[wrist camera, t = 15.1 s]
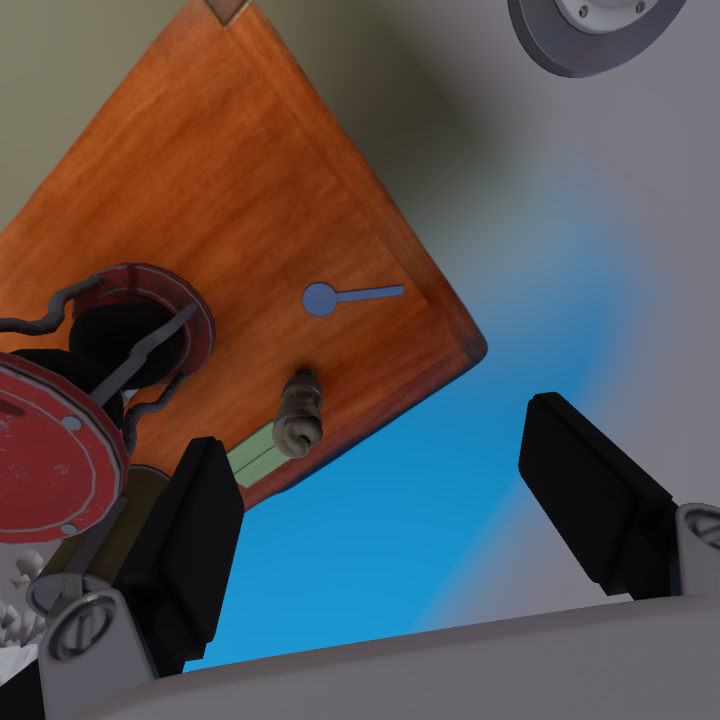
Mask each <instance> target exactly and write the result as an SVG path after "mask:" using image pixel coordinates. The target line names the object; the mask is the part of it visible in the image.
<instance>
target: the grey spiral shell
mask: <svg viewBox="0 0 720 720" xmlns="http://www.w3.org/2000/svg"><path fill="white" fill-rule="evenodd" d="M322 402H323V396H322V388H321V385H320V384H319V382H318V381H317V380H316V379H315V375H314V374H313V372H312V371H310V370H304V371H303V370H300V371H298V372H297V373H296V374H295V376H294V377H292V378H291V379H290V380H289V381H288V382H287V383H286V384H285V386H284V389H283V392H282V397H281V407H280V408H279V410H278V413H277V416H276V418H275V421H274V426H273V429H272V439H273V442H274V444H275V446H276V448H277V449H278V450H279V451H280V452H281V453H282V454H284V455H286V456H287V457H290V458H296V459H297V458H302V457H305V456H306V455H307V454H308V453H309V450H310V448H312V447H314V446H316V445H317V444H318V443H319V442H320V441H321V439H322V435H323V430H322V421H321V414H320V411H319V410H320V408H321V406H322Z"/></svg>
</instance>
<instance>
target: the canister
mask: <svg viewBox="0 0 720 720" xmlns="http://www.w3.org/2000/svg"><path fill="white" fill-rule="evenodd" d="M169 481H170V478H169V477H168V476H167V475H165V474H164V473H163V472H161V471H159V470H157V469H154V468H152V467H148V466H143V465H129V468H128V477H127V484H126V486H125V487H124V489H123V490H122V492H121V493H120V495H119V496H118V498H117V499H116V501H115V502H114V504H113V505H112V507H111V508H110V510H109V511H108V513H107V514H106V516H105V517H104V519H102V520H101V521H99V522H98V523H96V524H95V525H93V526H91V527H90V528H88V529H87V530H85V531H84V532H82V533H81V534H77V535H74V536H70V537H67V538H65V540H64V541H63V542H62V544H61V545H60V547H59V548H58V549H57V551H56V552H55V553H54V555H53V556H52V558H51V559H50V560H49V562H48V563H47V564H46V566H45V567H44V569H43V570H42V571H41V573H40V574H39V575H38V577H37V578H36V579H35V580H34V581H33V582H32V583H31V584H30V585H29V586H28V588H27V591H26V595H25V599H26V603H27V604H28V606H29V607H30V608H31V609H32V610H33V611H34V612H35V613H37V614H38V615H40V616H41V617H43V618H45V626H47V629H48V628H49V627H50V625H51V624H52V622H53V621H54V620H55V619H56V618H57V617H58V615H59V614H60V613H61V612H62V611H63V610H64V609H65V608H67V607H68V606H69V605H70V604H72V603H73V602H74V601H75V600H77V599H78V598H80V597H82V596H84V595H86V594H87V593H89V592H92V591H95V590H98V589H101V588H110V587H111V585H112V583H113V582H114V580H115V578H116V576H117V574H118V572H119V570H120V568H121V566H122V564H123V563H124V561H125V559H126V557H127V555H128V553H129V551H130V549H131V547H132V545H133V544H134V542H135V540H136V538H137V536H138V534H139V532H140V530H141V528H142V526H143V525H144V523H145V521H146V519H147V517H148V515H149V513H150V511H151V509H152V507H153V506H154V504H155V502H156V500H157V498H158V496H159V495H160V493H161V492H162V491H163V490H164V489H166V487H167V485H168V483H169Z"/></svg>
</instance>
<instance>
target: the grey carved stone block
mask: <svg viewBox="0 0 720 720" xmlns="http://www.w3.org/2000/svg"><path fill="white" fill-rule="evenodd" d="M64 540H65V538H63V539H60V540H56V541H53V542H49V543H34V544H16V545H10V544H2V543H0V686H2V685H3V684H4V683H6V682H7V681H8V680H9V679H11V678H12V677H13V676H15V675H16V674H17V673H18V672H20V671H21V670H22V669H24V668H25V667H26V666H27V665H29V664H30V663H31V662H33V661H34V660H35V659H36V658H38V652H39V646H40V643H41V641H42V638H43V636H44V634H45V632H46V631H47V626H45V618H43V617H41V616H40V615H38V614H37V613H35V612H34V611H33V610H32V609H31V608H30V607H29V606H28V604H27V603H26V599H25V595H26V591H27V588H28V586H29V585H30V584H31V583H32V582H33V581H34V580H35V579H36V578H37V577H38V575H39V574H40V573H41V571H42V570H43V569H44V567H45V566H46V564H47V563H48V562H49V560H50V559H51V558H52V556H53V555H54V553H55V552H56V551H57V549H58V548H59V547H60V545H61V544H62V542H63V541H64Z"/></svg>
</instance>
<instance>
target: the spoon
mask: <svg viewBox="0 0 720 720" xmlns="http://www.w3.org/2000/svg"><path fill="white" fill-rule="evenodd" d="M396 295H404V286H403V285H398V286H389V287H380V288H371V289H363V290H354V291H345V292H336V293H335V291H334V289H333V288H332V287H331V286H330V285H328V284H326V283H323V282H316V283H313V284H311V285H309V286H308V287H307V288H306V289H305V291H304V293H303V298H302V301H303V305H304V308H305V309H306V310H307V311H308V312H309V313H310V314H312V315H314V316H326V315H328V314H330V313H331V312H332V311H333V310H334V308H335V307H336V303H337V302H344V301H353V300H361V299H370V298H379V297H387V296H396Z"/></svg>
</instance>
